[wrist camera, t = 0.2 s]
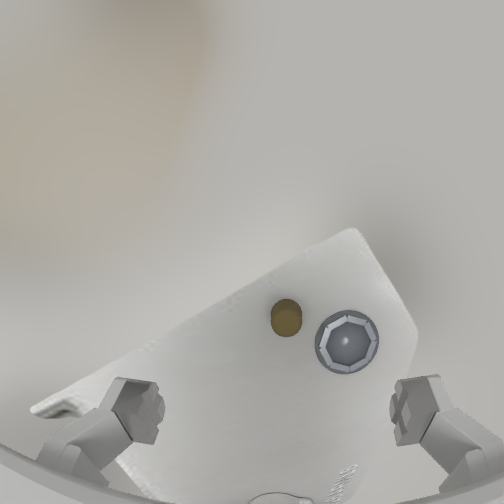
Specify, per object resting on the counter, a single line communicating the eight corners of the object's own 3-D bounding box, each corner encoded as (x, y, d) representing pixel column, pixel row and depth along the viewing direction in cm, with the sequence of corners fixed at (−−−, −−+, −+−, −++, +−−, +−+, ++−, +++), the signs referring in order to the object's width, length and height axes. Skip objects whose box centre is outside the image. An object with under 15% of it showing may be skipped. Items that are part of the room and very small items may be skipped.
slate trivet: (387, 353, 60) (389, 354, 59) (332, 384, 61) (333, 386, 60) (361, 298, 62) (363, 299, 60) (303, 330, 62) (304, 332, 61)
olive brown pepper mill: (307, 307, 63) (311, 314, 52) (293, 334, 63) (294, 347, 52) (279, 293, 63) (278, 298, 52) (265, 321, 63) (261, 331, 52)
